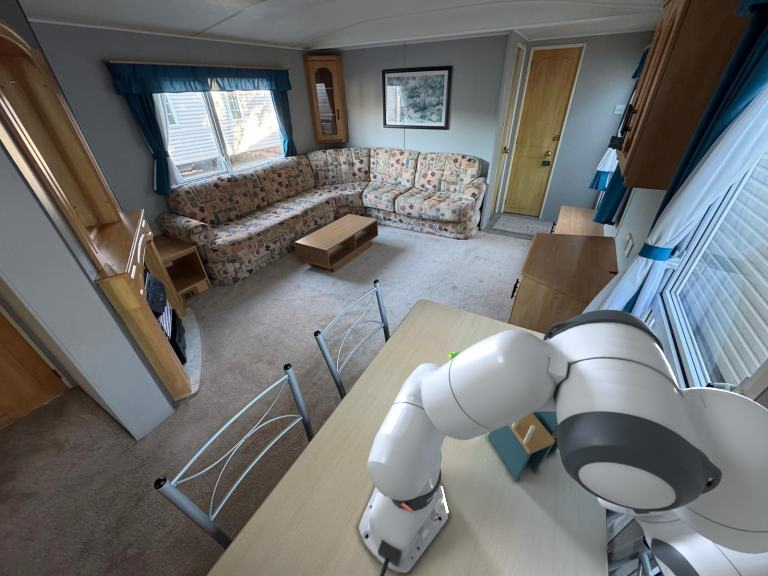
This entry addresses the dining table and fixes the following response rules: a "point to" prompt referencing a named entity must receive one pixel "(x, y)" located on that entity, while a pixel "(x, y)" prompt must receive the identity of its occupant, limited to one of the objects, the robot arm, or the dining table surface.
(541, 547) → the dining table surface
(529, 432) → the plate rack
